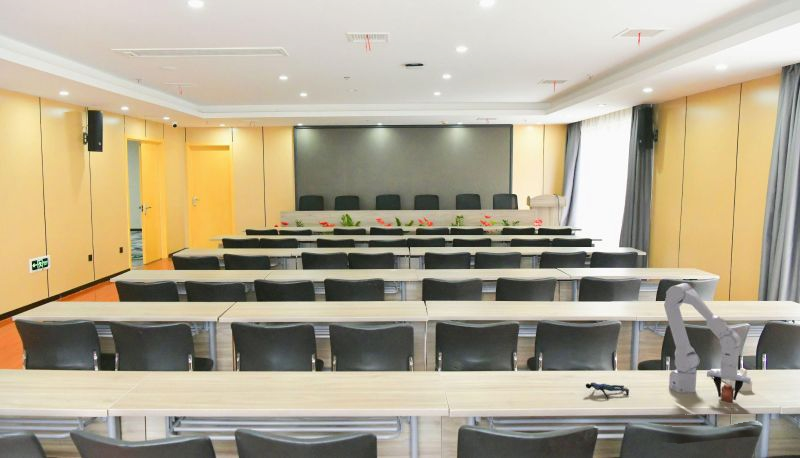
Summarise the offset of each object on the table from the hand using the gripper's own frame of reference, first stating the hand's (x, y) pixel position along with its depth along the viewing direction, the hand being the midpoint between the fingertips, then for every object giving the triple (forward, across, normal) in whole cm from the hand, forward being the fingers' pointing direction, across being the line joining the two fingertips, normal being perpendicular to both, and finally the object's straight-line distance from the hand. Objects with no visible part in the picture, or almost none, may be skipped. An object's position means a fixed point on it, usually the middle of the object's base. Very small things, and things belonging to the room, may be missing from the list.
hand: (727, 397), depth 216 cm
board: (+2, 0, +5) cm, 5 cm away
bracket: (+3, -1, +27) cm, 27 cm away
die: (+2, +4, +18) cm, 18 cm away
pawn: (+1, 0, 0) cm, 1 cm away
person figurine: (+3, -41, -17) cm, 44 cm away
